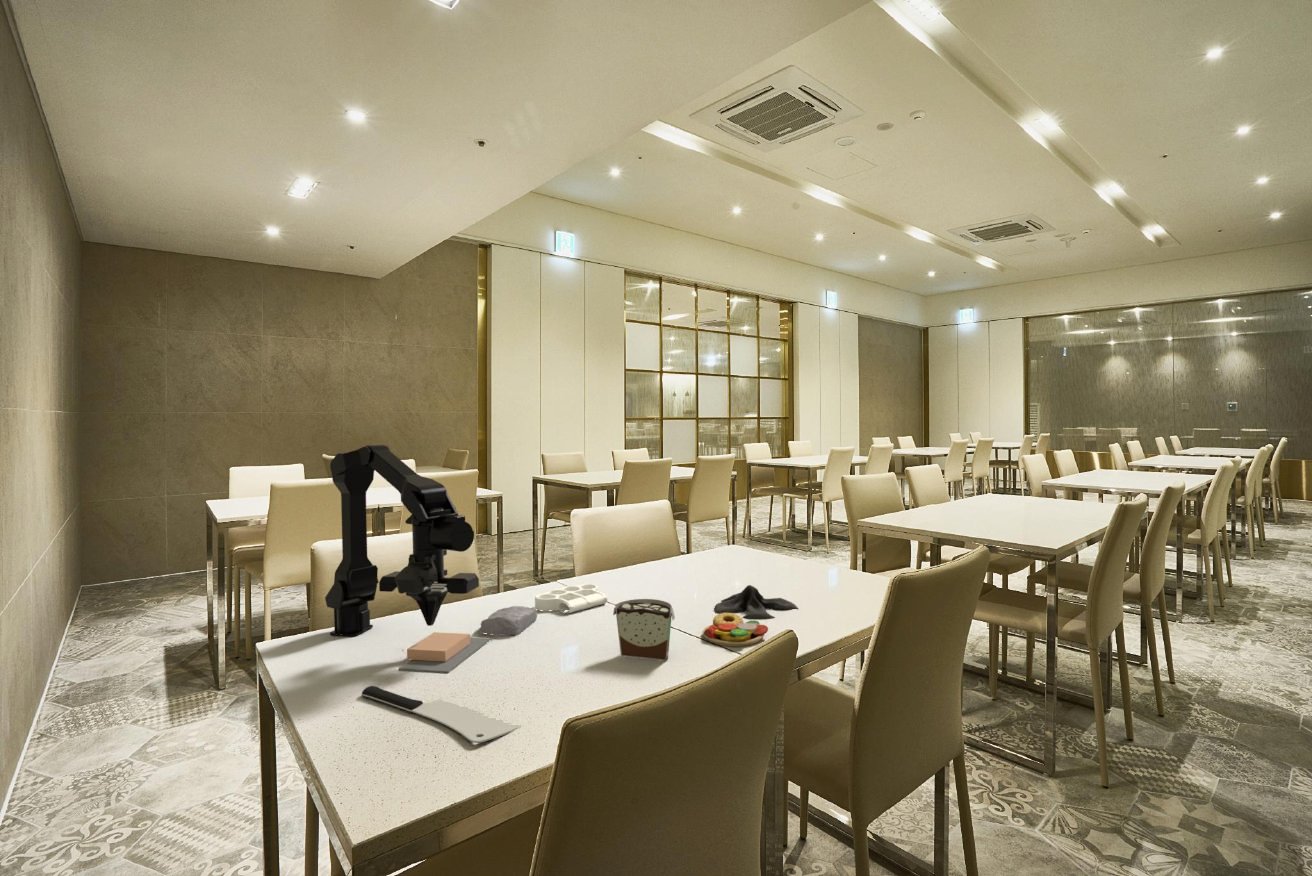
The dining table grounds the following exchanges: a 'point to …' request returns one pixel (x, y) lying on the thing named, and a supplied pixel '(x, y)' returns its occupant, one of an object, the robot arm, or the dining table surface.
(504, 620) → the stone block
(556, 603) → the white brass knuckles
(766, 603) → the cloth
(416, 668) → the mat
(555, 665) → the dining table surface
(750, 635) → the toy food set
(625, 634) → the food container
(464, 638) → the tan flat block
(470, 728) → the kitchen cleaver
